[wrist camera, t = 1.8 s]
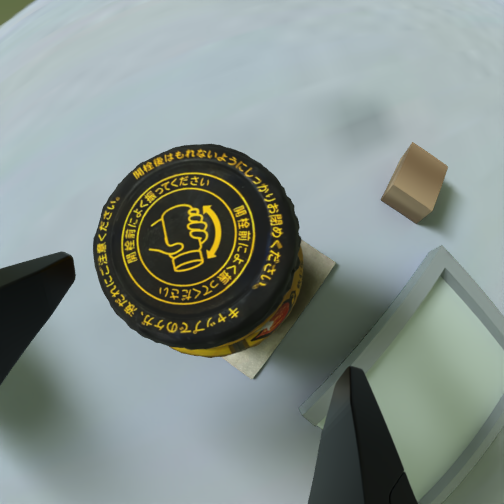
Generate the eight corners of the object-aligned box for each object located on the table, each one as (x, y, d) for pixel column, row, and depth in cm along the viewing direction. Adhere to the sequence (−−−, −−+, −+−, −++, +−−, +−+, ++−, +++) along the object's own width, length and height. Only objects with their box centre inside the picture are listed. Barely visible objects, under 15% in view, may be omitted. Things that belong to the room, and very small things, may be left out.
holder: (421, 503, 14) (431, 513, 13) (298, 408, 17) (302, 415, 15) (523, 364, 16) (537, 364, 15) (429, 252, 19) (442, 245, 17)
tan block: (416, 223, 19) (432, 211, 17) (380, 200, 20) (393, 184, 18) (433, 181, 20) (448, 166, 18) (400, 159, 21) (412, 142, 18)
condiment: (156, 304, 19) (25, 260, 7) (239, 198, 20) (213, 52, 9) (252, 379, 17) (233, 454, 6) (335, 264, 19) (424, 167, 7)
